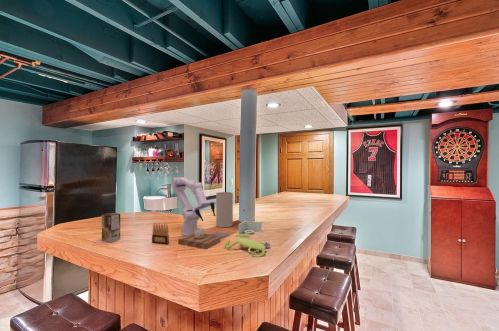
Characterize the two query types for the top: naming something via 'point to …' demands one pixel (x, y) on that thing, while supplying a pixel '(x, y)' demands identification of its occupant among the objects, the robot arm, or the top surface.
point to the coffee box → (110, 227)
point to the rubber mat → (220, 234)
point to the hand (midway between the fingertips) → (208, 218)
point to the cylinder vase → (224, 209)
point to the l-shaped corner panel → (250, 227)
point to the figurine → (249, 244)
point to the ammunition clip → (160, 234)
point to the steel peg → (199, 234)
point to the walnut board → (199, 241)
